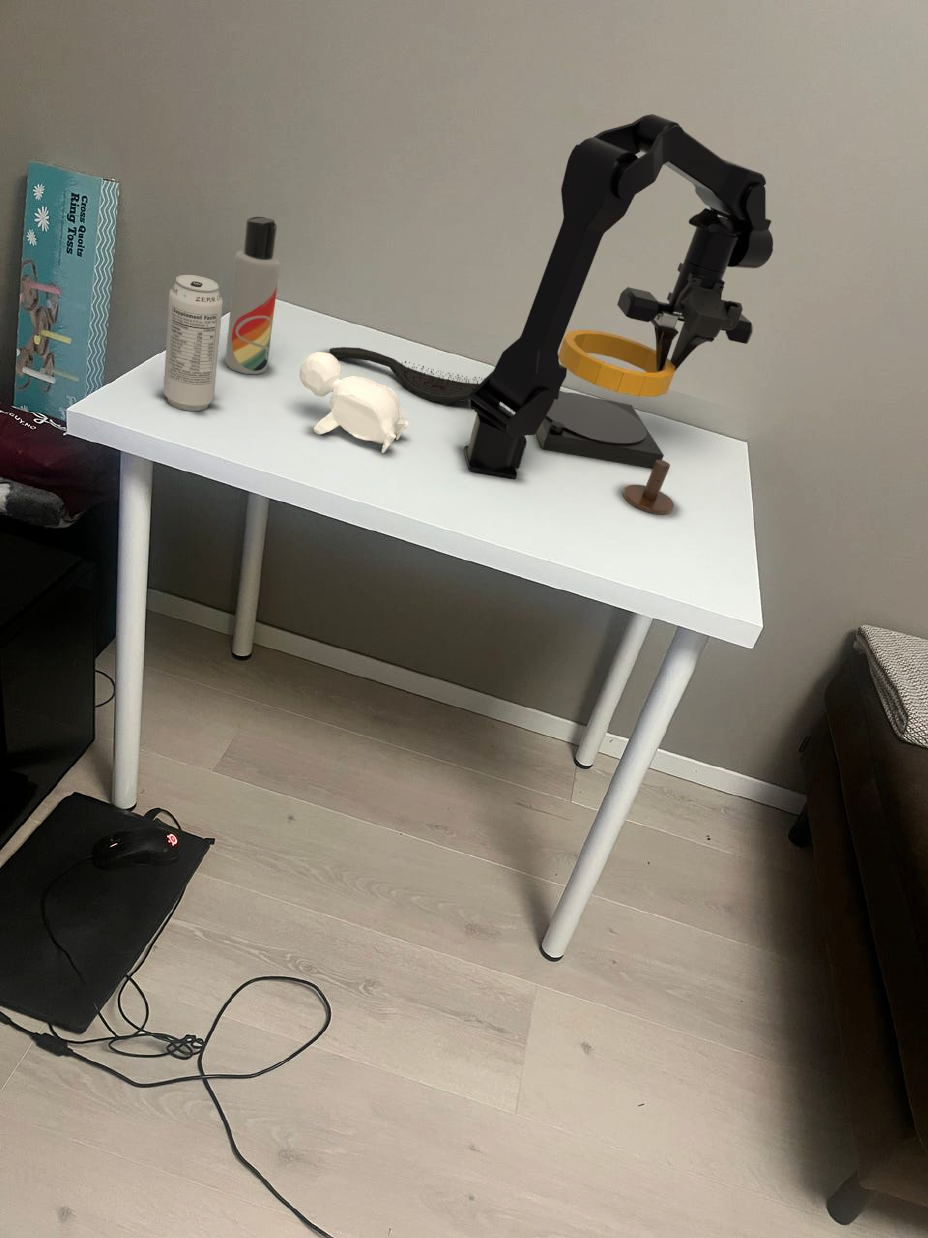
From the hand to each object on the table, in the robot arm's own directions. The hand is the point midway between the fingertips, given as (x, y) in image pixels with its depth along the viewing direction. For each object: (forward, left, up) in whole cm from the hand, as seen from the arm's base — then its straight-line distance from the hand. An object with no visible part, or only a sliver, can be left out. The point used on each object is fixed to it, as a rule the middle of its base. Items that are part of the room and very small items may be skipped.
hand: (663, 373), depth 133 cm
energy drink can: (-65, -13, -12) cm, 67 cm away
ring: (-8, 0, -1) cm, 8 cm away
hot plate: (-8, +1, -12) cm, 14 cm away
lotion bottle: (-59, +2, -12) cm, 60 cm away
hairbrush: (-36, +8, -12) cm, 39 cm away
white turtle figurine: (-45, -13, -12) cm, 48 cm away
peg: (-4, -19, -12) cm, 22 cm away
